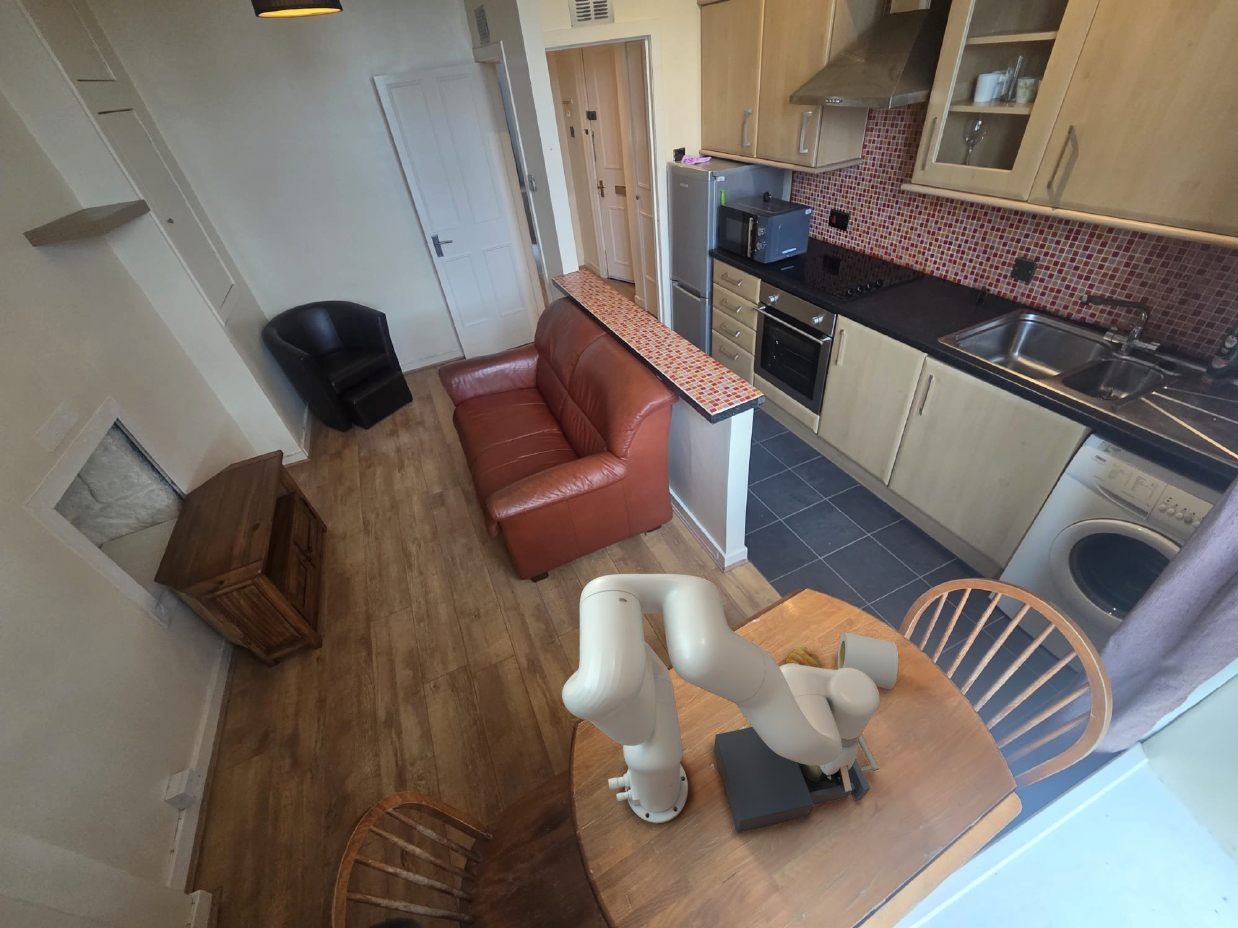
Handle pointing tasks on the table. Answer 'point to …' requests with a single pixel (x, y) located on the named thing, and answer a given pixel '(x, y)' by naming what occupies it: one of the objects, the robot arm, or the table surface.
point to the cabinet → (759, 781)
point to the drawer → (859, 785)
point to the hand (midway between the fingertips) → (819, 756)
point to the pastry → (804, 657)
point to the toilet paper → (870, 658)
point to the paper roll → (811, 772)
